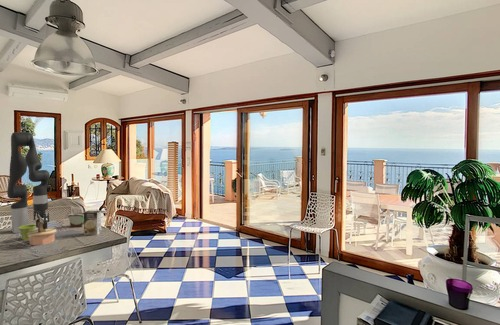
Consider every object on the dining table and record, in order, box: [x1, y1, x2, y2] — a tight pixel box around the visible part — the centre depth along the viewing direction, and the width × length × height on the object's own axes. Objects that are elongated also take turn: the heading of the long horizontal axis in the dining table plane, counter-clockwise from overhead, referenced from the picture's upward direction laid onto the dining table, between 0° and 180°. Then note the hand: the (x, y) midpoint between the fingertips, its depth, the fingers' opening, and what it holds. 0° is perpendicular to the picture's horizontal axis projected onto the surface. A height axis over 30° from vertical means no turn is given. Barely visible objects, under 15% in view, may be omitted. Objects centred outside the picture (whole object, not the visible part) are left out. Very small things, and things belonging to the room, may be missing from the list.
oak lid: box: [27, 221, 57, 237], centre depth 184 cm, size 15×15×7 cm
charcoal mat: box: [55, 229, 84, 241], centre depth 200 cm, size 17×17×1 cm
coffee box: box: [83, 210, 102, 236], centre depth 201 cm, size 9×6×16 cm
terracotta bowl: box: [28, 232, 56, 246], centre depth 184 cm, size 12×12×6 cm
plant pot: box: [19, 224, 37, 241], centre depth 191 cm, size 9×9×9 cm
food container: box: [67, 212, 84, 228], centre depth 222 cm, size 12×6×10 cm, turn 84°
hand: (41, 228), depth 184 cm, fingers open, 8 cm apart
